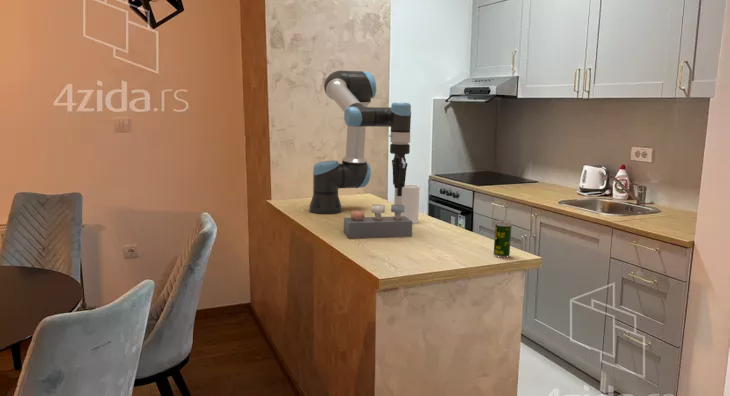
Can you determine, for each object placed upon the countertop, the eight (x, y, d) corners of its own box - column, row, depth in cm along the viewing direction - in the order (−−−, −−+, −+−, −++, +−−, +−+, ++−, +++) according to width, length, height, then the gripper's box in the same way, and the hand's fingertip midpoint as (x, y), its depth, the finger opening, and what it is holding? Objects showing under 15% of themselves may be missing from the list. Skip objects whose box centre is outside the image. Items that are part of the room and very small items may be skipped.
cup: (417, 224, 238) (418, 187, 235) (397, 223, 240) (399, 186, 237) (419, 220, 246) (420, 184, 243) (400, 219, 248) (401, 183, 245)
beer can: (497, 253, 195) (500, 219, 193) (512, 256, 192) (514, 221, 190) (490, 256, 191) (492, 221, 189) (505, 259, 188) (507, 224, 186)
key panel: (343, 232, 220) (343, 217, 219) (404, 230, 226) (404, 216, 225) (348, 238, 210) (348, 223, 209) (411, 236, 216) (412, 221, 215)
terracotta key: (349, 229, 218) (349, 210, 217) (362, 228, 219) (362, 210, 218) (352, 232, 213) (352, 213, 212) (365, 231, 214) (365, 212, 213)
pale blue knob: (389, 222, 221) (389, 204, 220) (401, 222, 222) (402, 204, 221) (392, 225, 216) (393, 206, 215) (405, 225, 217) (406, 206, 216)
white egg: (369, 223, 219) (370, 204, 218) (382, 222, 221) (382, 204, 219) (372, 226, 214) (373, 207, 213) (385, 225, 216) (386, 207, 214)
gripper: (386, 142, 219) (384, 201, 223) (395, 144, 207) (393, 207, 211) (404, 142, 221) (402, 200, 225) (414, 144, 209) (412, 206, 212)
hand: (398, 203), depth 218 cm, fingers closed
